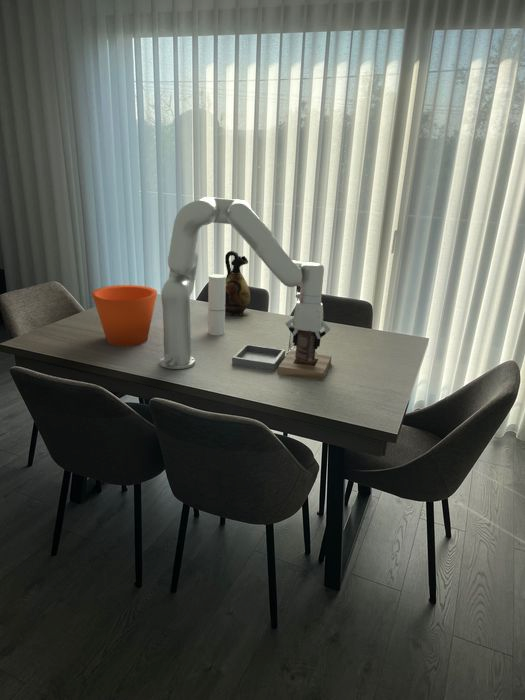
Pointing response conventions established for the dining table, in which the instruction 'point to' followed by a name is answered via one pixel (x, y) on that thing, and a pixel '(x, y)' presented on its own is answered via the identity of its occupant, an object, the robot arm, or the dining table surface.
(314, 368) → the socket board
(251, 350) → the tray
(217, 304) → the cylindrical container
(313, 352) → the box
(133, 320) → the flowerpot
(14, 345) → the dining table surface
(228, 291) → the ceramic jug
